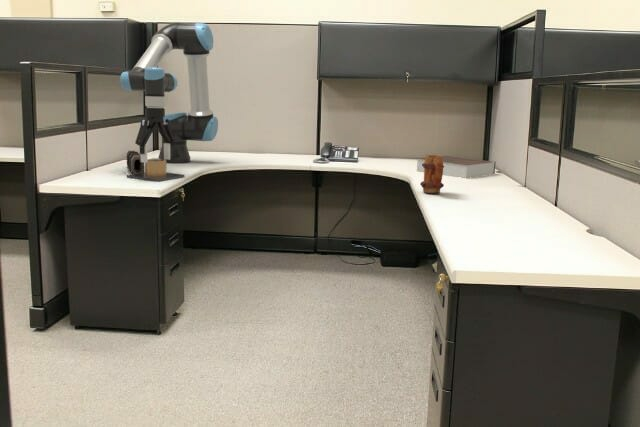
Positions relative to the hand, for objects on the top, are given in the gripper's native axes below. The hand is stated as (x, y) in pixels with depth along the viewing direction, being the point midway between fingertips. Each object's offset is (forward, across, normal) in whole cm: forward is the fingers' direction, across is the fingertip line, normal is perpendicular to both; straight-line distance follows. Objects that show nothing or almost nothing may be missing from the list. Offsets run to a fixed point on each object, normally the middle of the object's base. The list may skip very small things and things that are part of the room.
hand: (155, 160), depth 261 cm
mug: (+7, -34, +105) cm, 111 cm away
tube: (+7, -9, -20) cm, 23 cm away
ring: (+6, 0, 0) cm, 6 cm away
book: (+8, -101, +94) cm, 138 cm away
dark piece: (+7, 0, 0) cm, 7 cm away
